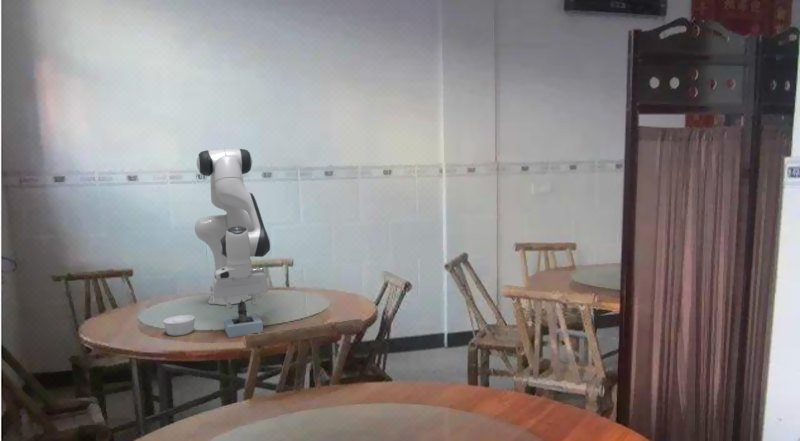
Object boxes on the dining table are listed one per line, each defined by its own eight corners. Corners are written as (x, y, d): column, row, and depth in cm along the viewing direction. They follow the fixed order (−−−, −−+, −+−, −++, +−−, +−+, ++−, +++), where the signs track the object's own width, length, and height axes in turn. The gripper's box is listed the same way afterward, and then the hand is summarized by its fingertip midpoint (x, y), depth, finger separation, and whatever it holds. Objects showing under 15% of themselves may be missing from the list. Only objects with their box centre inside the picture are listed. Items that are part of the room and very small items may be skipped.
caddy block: (224, 328, 239) (223, 318, 238) (257, 323, 243) (256, 314, 243) (228, 337, 227) (228, 327, 227) (263, 332, 232) (262, 322, 231)
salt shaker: (254, 328, 237) (252, 298, 236) (246, 333, 232) (244, 302, 230) (240, 327, 239) (238, 297, 237) (232, 332, 233) (230, 301, 232)
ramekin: (157, 335, 233) (156, 321, 232) (178, 326, 243) (177, 313, 242) (181, 338, 229) (180, 324, 228) (201, 329, 239) (200, 315, 238)
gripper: (265, 265, 239) (267, 300, 241) (210, 271, 231) (213, 307, 233) (269, 269, 234) (271, 304, 236) (212, 275, 226) (215, 312, 228)
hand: (241, 306), depth 234 cm, fingers open, 8 cm apart
